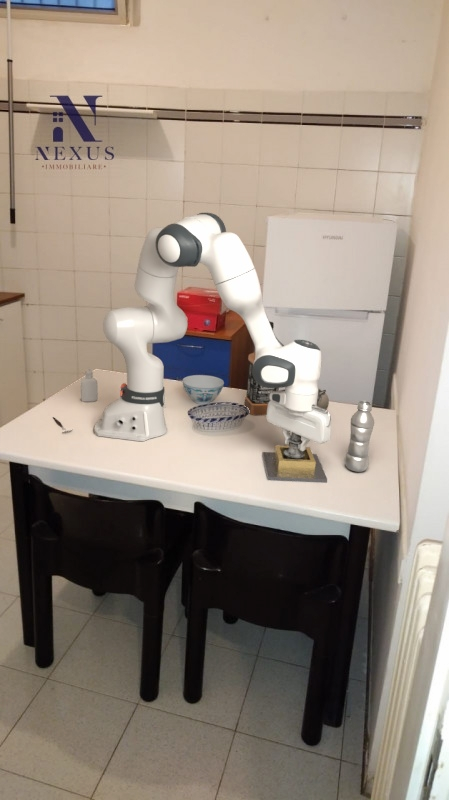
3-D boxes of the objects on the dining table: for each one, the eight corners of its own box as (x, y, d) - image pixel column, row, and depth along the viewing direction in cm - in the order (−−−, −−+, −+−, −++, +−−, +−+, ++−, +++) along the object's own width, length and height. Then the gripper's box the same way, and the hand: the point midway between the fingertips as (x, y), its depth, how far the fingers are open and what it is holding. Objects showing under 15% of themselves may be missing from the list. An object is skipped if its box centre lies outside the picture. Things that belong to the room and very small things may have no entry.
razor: (57, 418, 187) (57, 412, 186) (73, 435, 174) (73, 429, 174) (49, 419, 185) (49, 413, 185) (65, 436, 173) (65, 430, 172)
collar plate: (267, 480, 153) (269, 464, 152) (262, 454, 168) (263, 440, 167) (326, 482, 154) (328, 467, 153) (316, 457, 169) (317, 443, 168)
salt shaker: (300, 471, 157) (304, 430, 153) (279, 466, 159) (284, 426, 155) (305, 463, 162) (310, 424, 159) (286, 458, 165) (290, 419, 161)
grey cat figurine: (292, 421, 197) (320, 427, 192) (295, 388, 193) (324, 393, 188) (303, 413, 205) (331, 419, 200) (306, 381, 201) (334, 386, 197)
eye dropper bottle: (83, 397, 206) (83, 365, 202) (99, 399, 205) (98, 366, 201) (79, 401, 202) (78, 368, 198) (94, 403, 201) (94, 370, 197)
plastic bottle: (353, 476, 159) (363, 408, 152) (339, 465, 165) (348, 400, 158) (372, 473, 161) (382, 406, 155) (357, 463, 167) (367, 398, 161)
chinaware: (226, 397, 215) (228, 378, 213) (217, 410, 202) (218, 389, 199) (188, 392, 218) (189, 373, 216) (176, 404, 205) (177, 384, 202)
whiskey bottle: (250, 415, 199) (258, 324, 188) (243, 406, 208) (250, 318, 197) (279, 415, 201) (288, 325, 191) (270, 405, 210) (278, 319, 200)
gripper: (339, 409, 150) (332, 457, 154) (280, 388, 163) (275, 432, 168) (324, 414, 146) (317, 463, 150) (265, 392, 159) (260, 437, 164)
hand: (295, 447), depth 159 cm, fingers closed on salt shaker, 3 cm apart
